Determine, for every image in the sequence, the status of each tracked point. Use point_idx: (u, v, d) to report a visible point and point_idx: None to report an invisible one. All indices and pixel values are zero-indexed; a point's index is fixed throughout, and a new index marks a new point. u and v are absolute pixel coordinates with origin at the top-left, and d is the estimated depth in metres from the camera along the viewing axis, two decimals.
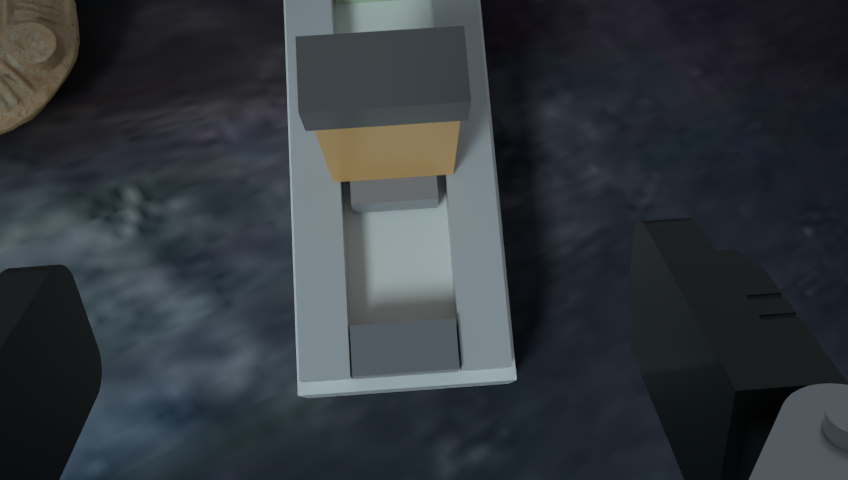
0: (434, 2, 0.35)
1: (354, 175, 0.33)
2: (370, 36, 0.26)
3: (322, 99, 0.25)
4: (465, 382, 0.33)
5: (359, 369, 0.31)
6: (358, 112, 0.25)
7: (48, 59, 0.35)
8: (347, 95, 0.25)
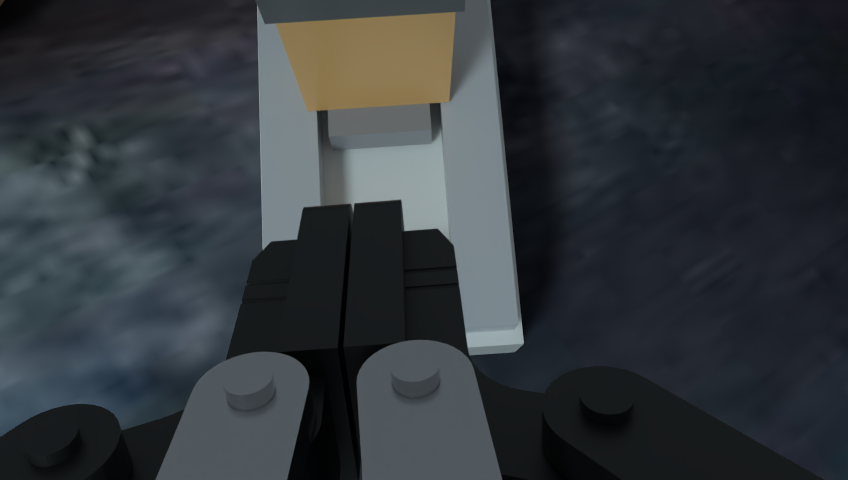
0: None
1: (332, 101, 0.28)
2: None
3: None
4: None
5: None
6: None
7: None
8: None
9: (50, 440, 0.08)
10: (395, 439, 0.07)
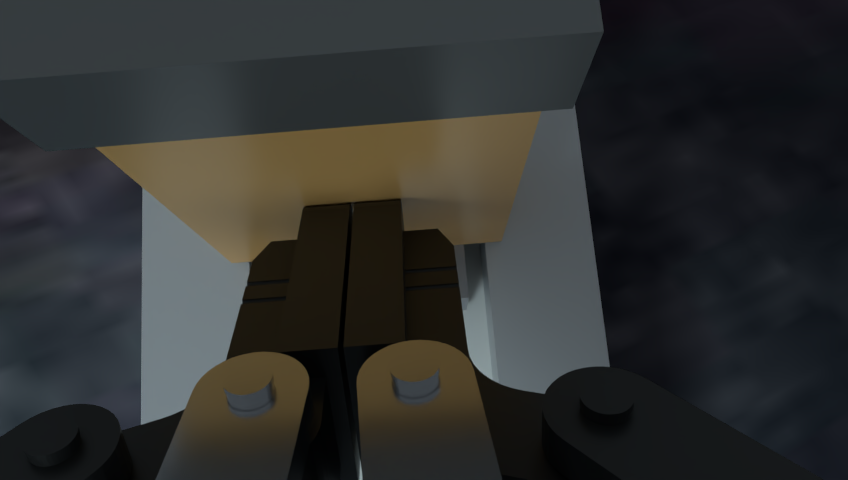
0: None
1: None
2: None
3: (45, 34, 0.07)
4: None
5: None
6: (185, 80, 0.07)
7: None
8: (141, 17, 0.07)
9: (50, 441, 0.08)
10: (395, 439, 0.07)
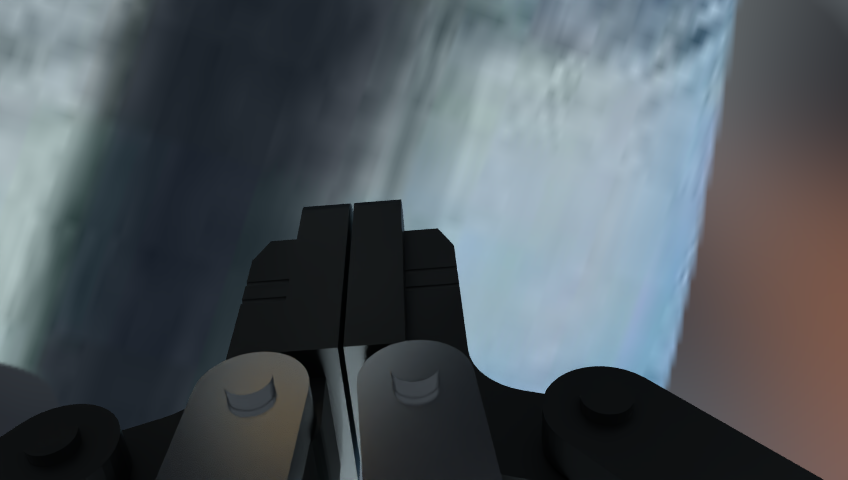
0: None
1: None
2: None
3: None
4: None
5: None
6: None
7: None
8: None
9: (50, 440, 0.08)
10: (395, 439, 0.07)
